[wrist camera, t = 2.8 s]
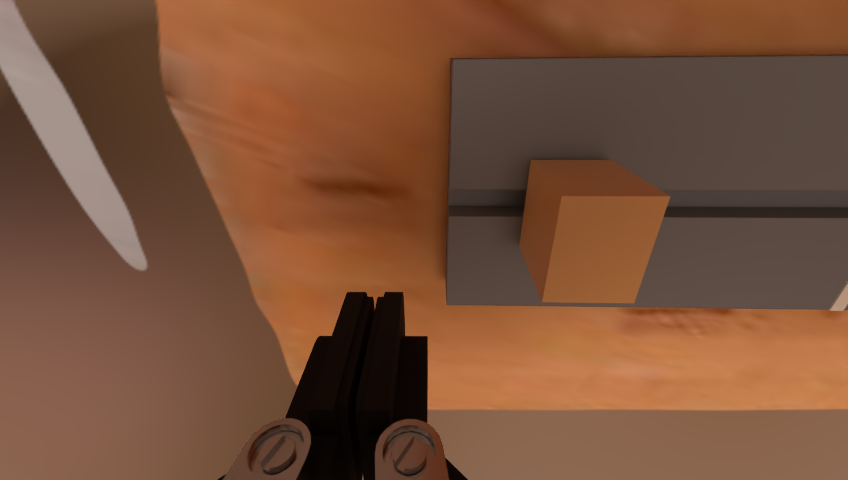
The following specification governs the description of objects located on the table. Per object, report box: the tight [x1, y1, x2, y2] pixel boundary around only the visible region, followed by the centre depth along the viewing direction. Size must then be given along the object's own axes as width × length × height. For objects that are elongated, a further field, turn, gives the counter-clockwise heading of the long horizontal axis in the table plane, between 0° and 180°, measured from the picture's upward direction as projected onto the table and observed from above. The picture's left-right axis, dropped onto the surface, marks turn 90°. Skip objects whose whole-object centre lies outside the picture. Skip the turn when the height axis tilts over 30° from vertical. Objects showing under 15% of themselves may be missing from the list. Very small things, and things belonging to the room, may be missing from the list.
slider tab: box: [519, 160, 670, 303], centre depth 17 cm, size 4×5×7 cm
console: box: [446, 55, 848, 311], centre depth 20 cm, size 32×14×3 cm, turn 91°
